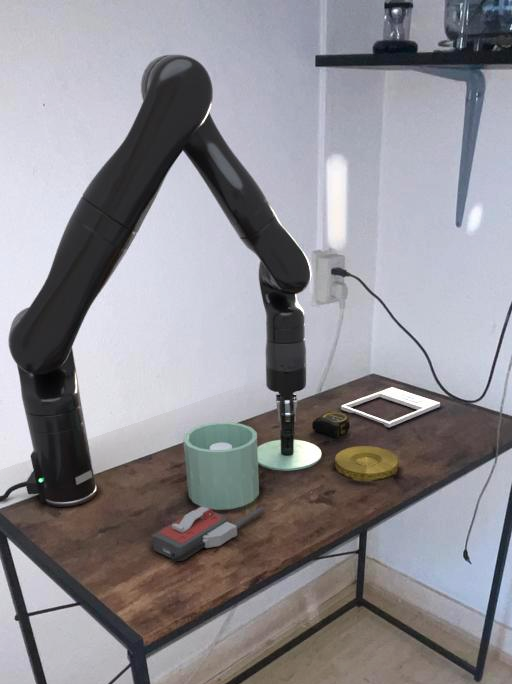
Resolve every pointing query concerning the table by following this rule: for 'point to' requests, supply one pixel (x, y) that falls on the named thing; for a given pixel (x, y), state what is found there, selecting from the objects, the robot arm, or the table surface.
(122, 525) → the table surface
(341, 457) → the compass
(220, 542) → the walkie-talkie
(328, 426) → the tape measure
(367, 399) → the photo frame
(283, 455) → the lid
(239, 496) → the cylindrical container
